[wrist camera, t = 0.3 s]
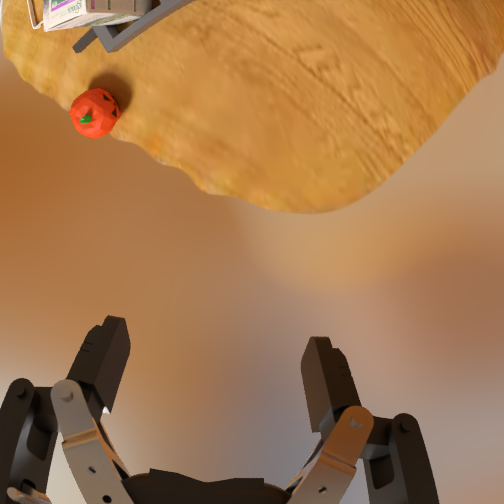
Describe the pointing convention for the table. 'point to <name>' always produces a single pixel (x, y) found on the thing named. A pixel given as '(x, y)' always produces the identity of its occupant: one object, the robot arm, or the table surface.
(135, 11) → the syrup box
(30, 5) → the phone case
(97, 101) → the pumpkin
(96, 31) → the socket strip
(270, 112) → the table surface
